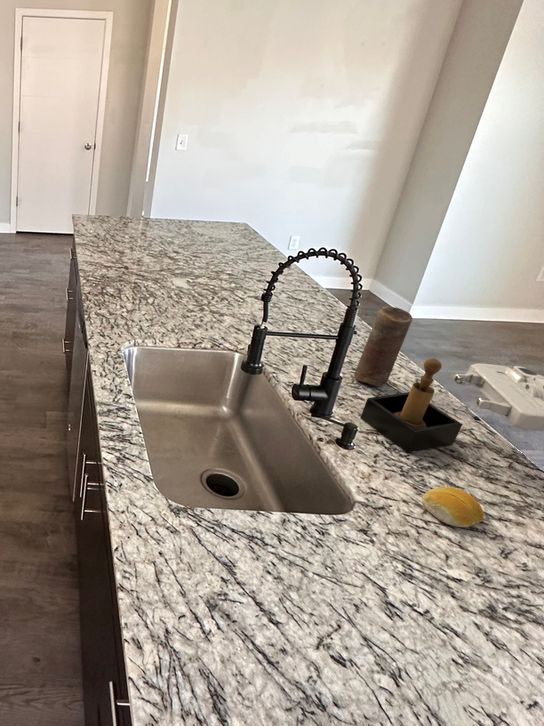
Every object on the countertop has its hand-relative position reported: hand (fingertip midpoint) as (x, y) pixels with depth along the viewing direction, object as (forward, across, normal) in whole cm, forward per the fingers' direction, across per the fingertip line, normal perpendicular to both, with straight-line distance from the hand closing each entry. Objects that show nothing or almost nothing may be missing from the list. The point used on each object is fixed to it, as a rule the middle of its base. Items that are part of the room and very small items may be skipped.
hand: (466, 390), depth 114 cm
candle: (+9, +21, -12) cm, 26 cm away
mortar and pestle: (+8, 0, -12) cm, 14 cm away
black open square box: (+8, 0, -12) cm, 15 cm away
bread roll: (+10, -25, -12) cm, 30 cm away
